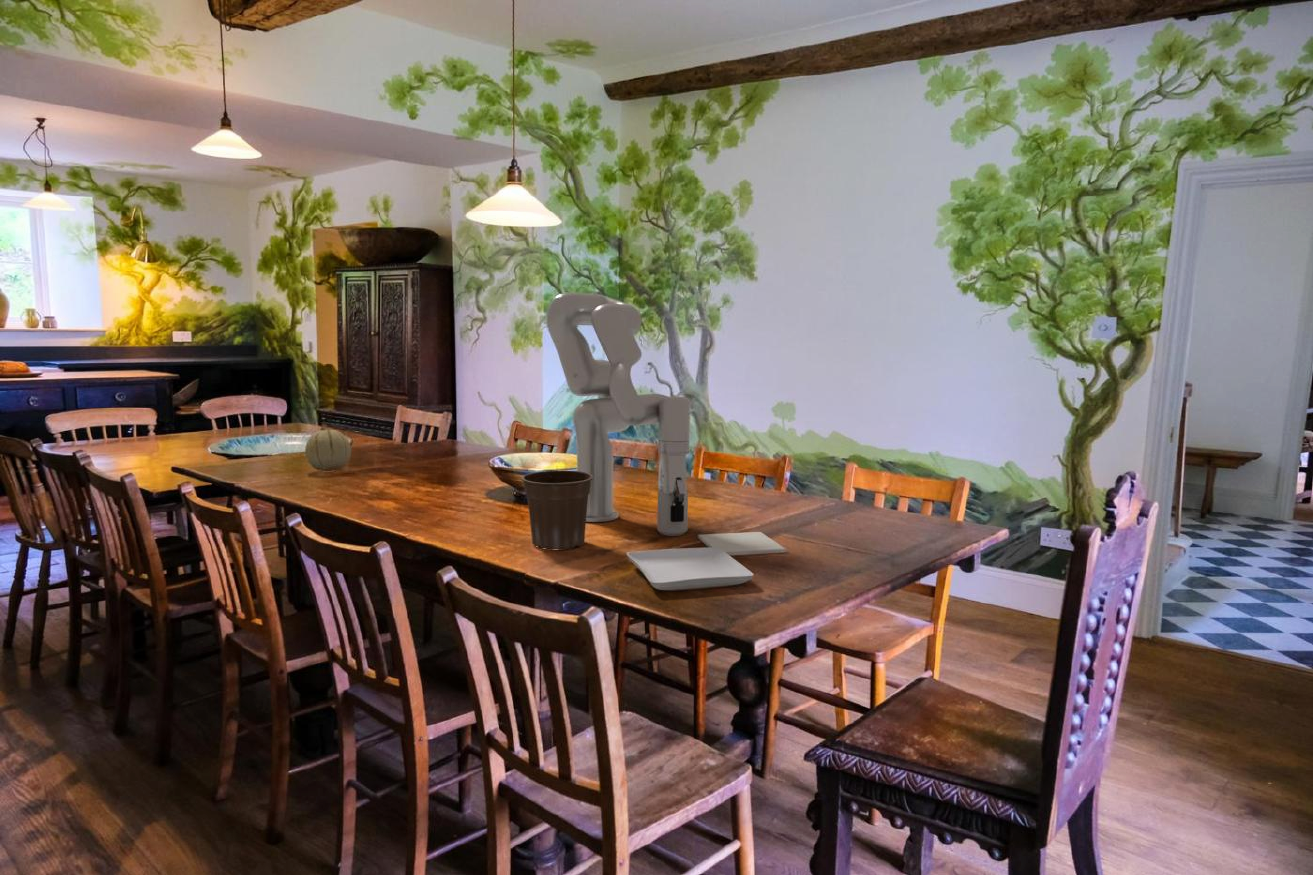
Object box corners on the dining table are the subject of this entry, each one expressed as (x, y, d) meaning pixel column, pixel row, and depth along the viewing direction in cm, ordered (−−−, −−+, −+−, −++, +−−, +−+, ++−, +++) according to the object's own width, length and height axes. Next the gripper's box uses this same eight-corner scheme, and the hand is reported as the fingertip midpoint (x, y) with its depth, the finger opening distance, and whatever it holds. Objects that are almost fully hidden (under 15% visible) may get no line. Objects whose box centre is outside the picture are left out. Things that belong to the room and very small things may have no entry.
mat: (718, 556, 181) (719, 552, 181) (698, 538, 196) (698, 534, 196) (785, 552, 185) (785, 548, 185) (760, 534, 200) (760, 531, 200)
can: (688, 529, 204) (689, 483, 203) (686, 537, 197) (687, 488, 195) (658, 528, 205) (659, 482, 204) (655, 536, 198) (656, 487, 196)
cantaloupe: (330, 477, 268) (328, 432, 266) (296, 473, 273) (294, 429, 271) (361, 470, 282) (360, 427, 280) (328, 466, 287) (326, 424, 285)
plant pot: (526, 555, 179) (525, 483, 177) (518, 537, 195) (518, 471, 193) (598, 551, 184) (599, 481, 182) (585, 533, 199) (585, 469, 197)
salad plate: (756, 590, 159) (756, 573, 159) (652, 598, 153) (652, 581, 152) (717, 560, 179) (718, 545, 179) (624, 567, 173) (624, 551, 173)
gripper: (650, 442, 206) (649, 510, 208) (667, 452, 189) (666, 526, 191) (679, 442, 207) (677, 509, 210) (698, 452, 191) (697, 525, 193)
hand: (672, 517), depth 201 cm, fingers closed on can, 7 cm apart
